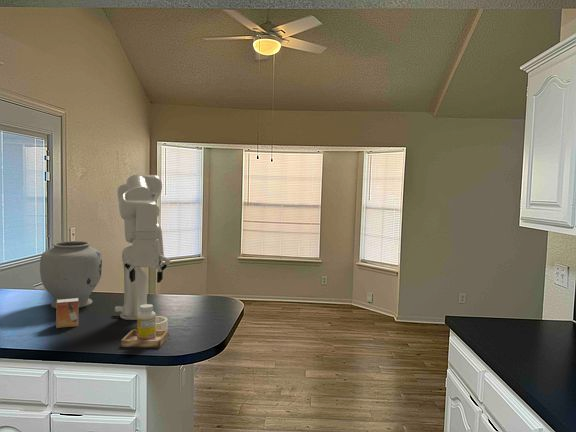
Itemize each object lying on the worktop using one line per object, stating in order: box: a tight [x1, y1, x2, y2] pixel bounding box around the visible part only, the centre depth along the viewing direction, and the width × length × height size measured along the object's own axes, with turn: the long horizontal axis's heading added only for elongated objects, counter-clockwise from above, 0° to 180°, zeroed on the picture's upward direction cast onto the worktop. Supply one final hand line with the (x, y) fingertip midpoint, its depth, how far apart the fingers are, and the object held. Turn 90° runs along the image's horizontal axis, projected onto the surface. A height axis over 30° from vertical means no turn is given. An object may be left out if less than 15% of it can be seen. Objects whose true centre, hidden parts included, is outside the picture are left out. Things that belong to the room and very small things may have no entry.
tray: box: [120, 328, 170, 349], centre depth 157 cm, size 14×12×2 cm
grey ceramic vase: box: [39, 240, 103, 309], centre depth 202 cm, size 27×27×30 cm
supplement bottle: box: [136, 303, 157, 340], centre depth 157 cm, size 7×7×13 cm
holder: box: [156, 315, 169, 330], centre depth 170 cm, size 11×11×4 cm
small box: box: [55, 298, 79, 329], centre depth 172 cm, size 8×6×10 cm
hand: (146, 281), depth 156 cm, fingers open, 9 cm apart
